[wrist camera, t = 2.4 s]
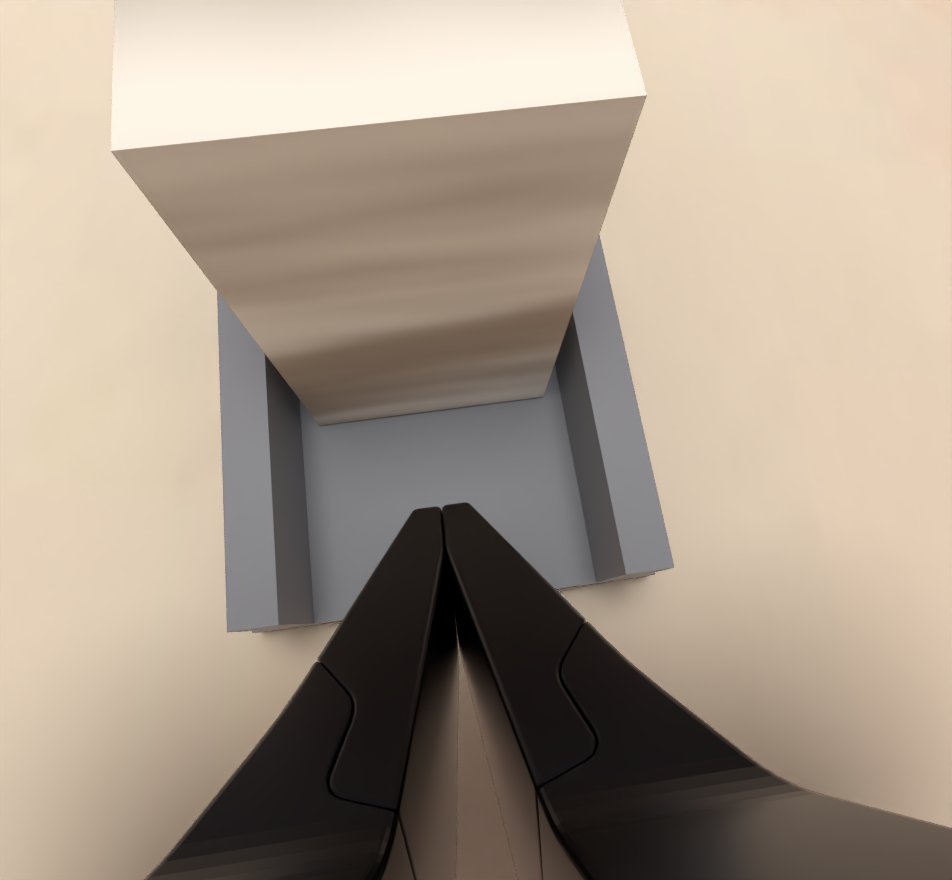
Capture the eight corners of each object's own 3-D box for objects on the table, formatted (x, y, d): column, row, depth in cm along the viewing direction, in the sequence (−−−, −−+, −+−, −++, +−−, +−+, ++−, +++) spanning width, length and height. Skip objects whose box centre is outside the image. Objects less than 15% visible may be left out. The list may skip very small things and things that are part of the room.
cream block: (543, 396, 17) (646, 95, 7) (319, 425, 16) (110, 151, 7) (519, 266, 18) (581, -149, 8) (309, 291, 17) (117, -109, 8)
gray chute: (645, 576, 16) (697, 563, 13) (262, 632, 16) (201, 635, 12) (553, 139, 20) (572, 33, 16) (242, 172, 20) (191, 71, 16)
